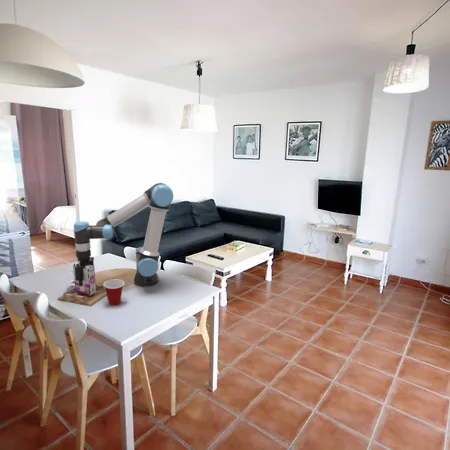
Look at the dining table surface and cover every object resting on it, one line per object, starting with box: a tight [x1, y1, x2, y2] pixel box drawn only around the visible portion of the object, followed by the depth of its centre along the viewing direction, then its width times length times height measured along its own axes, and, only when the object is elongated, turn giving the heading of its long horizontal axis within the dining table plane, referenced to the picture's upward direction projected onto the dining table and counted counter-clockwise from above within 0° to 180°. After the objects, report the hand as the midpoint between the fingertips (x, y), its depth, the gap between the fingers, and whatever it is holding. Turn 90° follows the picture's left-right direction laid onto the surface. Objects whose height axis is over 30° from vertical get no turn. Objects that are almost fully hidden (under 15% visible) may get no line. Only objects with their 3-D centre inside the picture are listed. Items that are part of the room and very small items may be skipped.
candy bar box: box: [72, 264, 97, 295], centre depth 179 cm, size 11×5×16 cm, turn 69°
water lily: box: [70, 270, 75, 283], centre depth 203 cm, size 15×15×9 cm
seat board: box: [56, 283, 107, 307], centre depth 181 cm, size 22×18×5 cm
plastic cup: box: [102, 278, 125, 306], centre depth 172 cm, size 11×11×12 cm
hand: (86, 288), depth 180 cm, fingers closed on candy bar box, 5 cm apart
